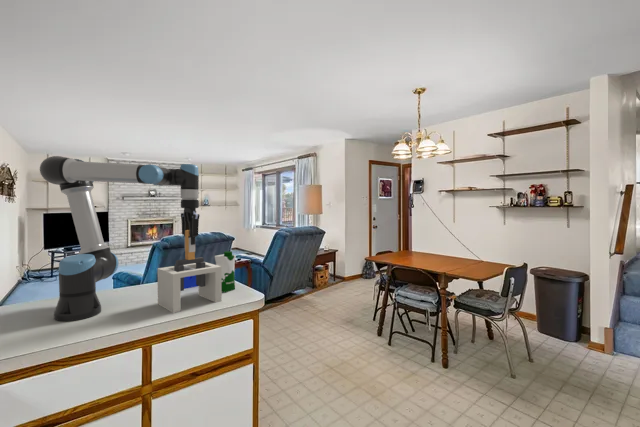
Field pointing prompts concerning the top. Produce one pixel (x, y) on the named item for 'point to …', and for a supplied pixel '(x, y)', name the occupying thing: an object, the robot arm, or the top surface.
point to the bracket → (190, 282)
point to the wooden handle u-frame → (190, 260)
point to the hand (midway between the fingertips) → (190, 251)
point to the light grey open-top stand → (171, 279)
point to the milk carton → (227, 270)
